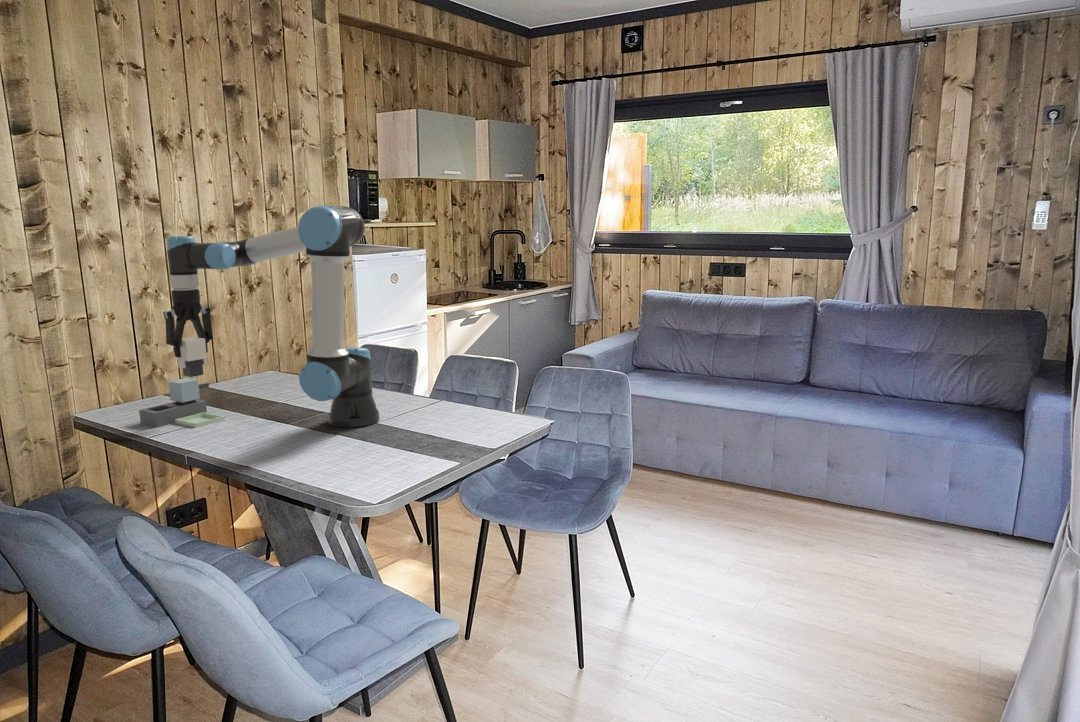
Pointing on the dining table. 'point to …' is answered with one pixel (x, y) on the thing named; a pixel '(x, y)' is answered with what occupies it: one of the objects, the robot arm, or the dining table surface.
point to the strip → (176, 404)
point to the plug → (193, 355)
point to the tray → (199, 419)
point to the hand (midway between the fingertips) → (192, 365)
